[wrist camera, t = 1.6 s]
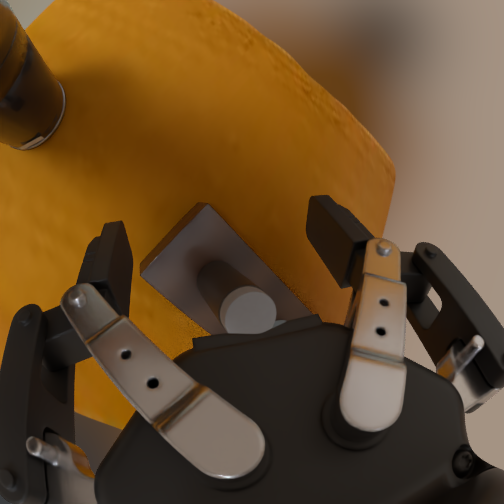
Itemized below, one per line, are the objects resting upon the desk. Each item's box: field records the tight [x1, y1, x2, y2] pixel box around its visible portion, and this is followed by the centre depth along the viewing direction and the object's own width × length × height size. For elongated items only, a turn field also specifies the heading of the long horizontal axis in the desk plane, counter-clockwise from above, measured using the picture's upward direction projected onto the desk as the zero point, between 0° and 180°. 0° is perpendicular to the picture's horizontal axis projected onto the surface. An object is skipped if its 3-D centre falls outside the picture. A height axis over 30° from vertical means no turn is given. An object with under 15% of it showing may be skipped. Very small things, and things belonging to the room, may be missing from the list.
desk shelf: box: [140, 202, 313, 335], centre depth 35 cm, size 24×10×5 cm, turn 43°
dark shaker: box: [197, 261, 276, 334], centre depth 26 cm, size 4×4×10 cm
